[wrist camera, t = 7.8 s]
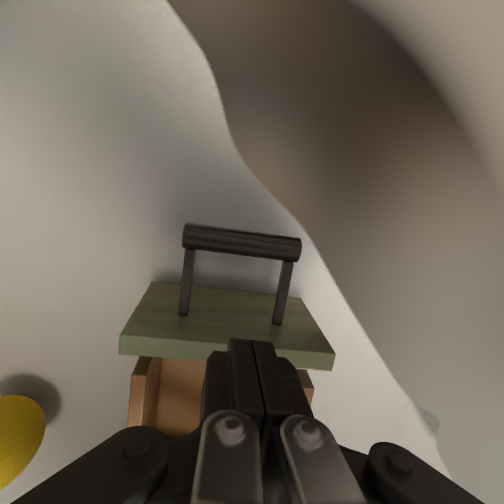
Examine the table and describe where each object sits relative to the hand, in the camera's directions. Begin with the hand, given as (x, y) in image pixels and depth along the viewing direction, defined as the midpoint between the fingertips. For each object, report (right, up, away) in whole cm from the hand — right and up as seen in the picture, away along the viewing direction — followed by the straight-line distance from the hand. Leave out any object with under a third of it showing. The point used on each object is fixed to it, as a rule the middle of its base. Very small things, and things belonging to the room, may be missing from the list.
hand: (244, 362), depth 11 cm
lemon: (-19, -9, +16) cm, 26 cm away
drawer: (-2, -4, +15) cm, 16 cm away
